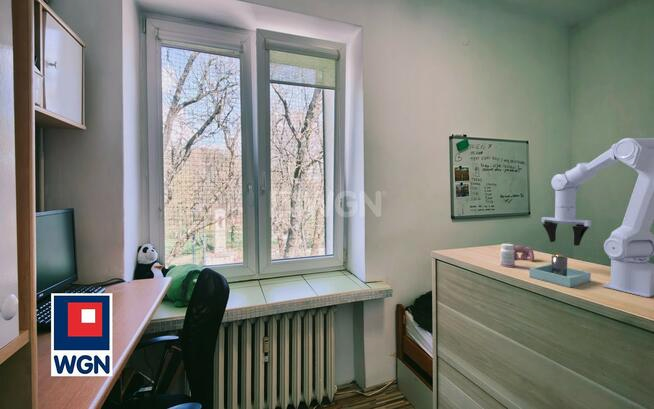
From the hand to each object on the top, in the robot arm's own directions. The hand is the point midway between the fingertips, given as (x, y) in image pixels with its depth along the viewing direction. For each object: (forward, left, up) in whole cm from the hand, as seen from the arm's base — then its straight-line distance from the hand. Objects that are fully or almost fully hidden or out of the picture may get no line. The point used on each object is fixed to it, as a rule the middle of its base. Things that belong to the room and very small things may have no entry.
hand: (564, 243), depth 104 cm
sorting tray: (-6, +15, -9) cm, 19 cm away
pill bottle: (+12, +14, -10) cm, 21 cm away
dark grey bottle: (-6, +15, -9) cm, 18 cm away
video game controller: (+16, +1, -10) cm, 18 cm away
